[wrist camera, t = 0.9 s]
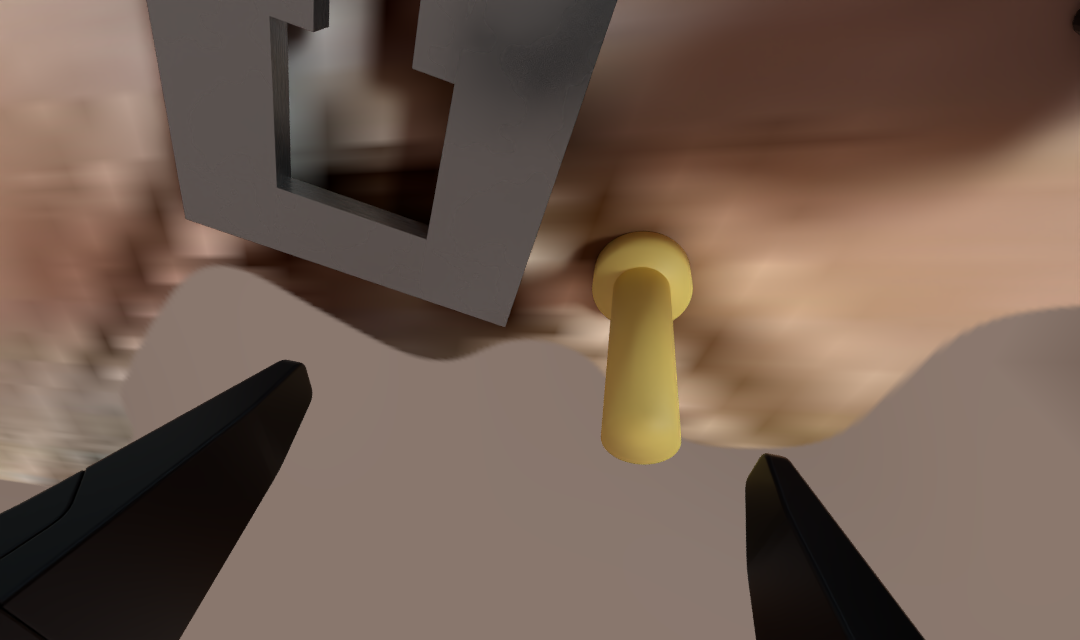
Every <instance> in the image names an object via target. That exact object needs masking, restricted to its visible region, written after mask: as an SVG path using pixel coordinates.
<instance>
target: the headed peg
mask: <svg viewBox="0 0 1080 640" xmlns="http://www.w3.org/2000/svg"><path fill="white" fill-rule="evenodd" d="M692 288H693V286H692V278H691V271H690V264H689V260H688V257H687V255H686V253H685V252H684V250H683V249H682V248H681V246H680V245H679V244H678V243H676V242H675V241H674V240H672V239H671V238H669V237H667V236H665V235H662V234H659V233H655V232H649V231H639V232H632V233H628V234H624V235H622V236H620V237H617V238H616V239H614V240H612V241H611V242H610V243H609V244H607V245H606V246H605V247H604V248H603V250H602V251H601V252H600V254H599V256H598V258H597V261H596V264H595V269H594V277H593V284H592V294H593V298H594V301H595V304H596V306H597V307H598V309H599V310H600V311H601V313H602V314H603V315H604V316H605V317H607V318H608V319H609V320H611V321H610V333H609V345H608V357H607V369H606V381H605V394H604V406H603V418H602V430H601V441H602V444H603V446H604V447H605V449H606V450H607V451H608V452H609V453H610V454H611V455H613V456H614V457H616V458H618V459H620V460H622V461H625V462H629V463H633V464H655V463H659V462H662V461H665V460H667V459H669V458H671V457H672V456H673V455H675V454H676V453H677V451H678V450H679V448H680V445H681V430H680V416H679V402H678V388H677V374H676V361H675V347H674V333H673V320H675V319H676V318H677V317H678V316H680V315H681V314H682V313H683V312H684V310H685V309H686V307H687V306H688V304H689V302H690V299H691V296H692Z"/></svg>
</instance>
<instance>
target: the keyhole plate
mask: <svg viewBox="0 0 1080 640" xmlns="http://www.w3.org/2000/svg"><path fill="white" fill-rule="evenodd" d="M616 2H617V0H421V2H420V10H419V18H418V26H417V34H416V42H415V50H414V58H413V66H412V69H415V70H418V71H421V72H423V73H426V74H429V75H431V76H434V77H437V78H440V79H442V80H445V81H448V82H450V83H453V84H455V85H454V90H453V96H452V101H451V107H450V112H449V118H448V124H447V129H446V135H445V140H444V146H443V151H442V157H441V163H440V168H439V174H438V179H437V185H436V190H435V196H434V202H433V207H432V213H431V218H430V224H429V225H426V224H423V223H420V222H418V221H415V220H412V219H409V218H406V217H403V216H400V215H397V214H395V213H392V212H389V211H386V210H383V209H380V208H377V207H374V206H372V205H369V204H366V203H363V202H360V201H357V200H354V199H352V198H349V197H346V196H343V195H340V194H337V193H334V192H331V191H329V190H326V189H323V188H320V187H317V186H314V185H311V184H308V183H306V182H303V181H300V180H297V179H294V178H291V164H290V121H289V78H288V36H287V23H290V24H293V25H295V26H298V27H301V28H304V29H306V30H309V31H312V32H315V31H318V30H321V29H324V28H327V27H329V0H147V6H148V11H149V17H150V22H151V28H152V34H153V39H154V45H155V50H156V56H157V62H158V67H159V73H160V78H161V84H162V90H163V95H164V101H165V106H166V112H167V117H168V123H169V129H170V134H171V140H172V145H173V151H174V157H175V162H176V168H177V173H178V179H179V185H180V190H181V196H182V201H183V207H184V213H185V218H186V219H187V220H190V221H193V222H196V223H199V224H202V225H205V226H208V227H211V228H214V229H217V230H220V231H223V232H226V233H229V234H232V235H235V236H237V237H240V238H243V239H246V240H249V241H252V242H255V243H258V244H261V245H264V246H267V247H270V248H273V249H276V250H279V251H282V252H285V253H288V254H291V255H294V256H296V257H299V258H302V259H305V260H308V261H311V262H314V263H317V264H320V265H323V266H326V267H329V268H332V269H335V270H338V271H341V272H344V273H347V274H350V275H353V276H355V277H358V278H361V279H364V280H367V281H370V282H373V283H376V284H379V285H382V286H385V287H388V288H391V289H394V290H397V291H400V292H403V293H406V294H409V295H412V296H415V297H417V298H420V299H423V300H426V301H429V302H432V303H435V304H438V305H441V306H444V307H447V308H450V309H453V310H456V311H459V312H462V313H465V314H468V315H471V316H474V317H476V318H479V319H482V320H485V321H488V322H491V323H494V324H497V325H500V326H503V327H505V326H506V323H507V320H508V317H509V314H510V311H511V308H512V305H513V302H514V299H515V297H516V294H517V291H518V288H519V285H520V282H521V279H522V276H523V273H524V270H525V267H526V264H527V262H528V259H529V256H530V253H531V250H532V247H533V244H534V241H535V238H536V235H537V232H538V229H539V227H540V224H541V221H542V218H543V215H544V212H545V209H546V206H547V203H548V200H549V197H550V194H551V192H552V189H553V186H554V183H555V180H556V177H557V174H558V171H559V168H560V165H561V162H562V160H563V157H564V154H565V151H566V148H567V145H568V142H569V139H570V136H571V133H572V130H573V127H574V125H575V122H576V119H577V116H578V113H579V110H580V107H581V104H582V101H583V98H584V95H585V92H586V90H587V87H588V84H589V81H590V78H591V75H592V72H593V69H594V66H595V63H596V60H597V57H598V55H599V52H600V49H601V46H602V43H603V40H604V37H605V34H606V31H607V28H608V25H609V22H610V20H611V17H612V14H613V11H614V8H615V5H616Z"/></svg>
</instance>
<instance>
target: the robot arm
mask: <svg viewBox="0 0 1080 640" xmlns="http://www.w3.org/2000/svg"><path fill="white" fill-rule="evenodd" d="M1072 25H1073V29H1074V31H1075V32H1077V33H1078V34H1080V9H1079V11H1078V12H1077V14H1076V15H1075V17H1074V20H1073V24H1072ZM311 399H312V388H311V384H310V381H309V377H308V374H307V370H306V367H305V365H304V364H302V363H300V362H295V361H290V360H282V361H279V362H277V363H275V364H273V365H271V366H270V367H268V368H266V369H264V370H262V371H260V372H259V373H257V374H255V375H253V376H252V377H250V378H248V379H246V380H244V381H242V382H241V383H239V384H237V385H235V386H233V387H232V388H230V389H228V390H226V391H224V392H223V393H221V394H219V395H217V396H215V397H214V398H212V399H210V400H208V401H206V402H204V403H203V404H201V405H199V406H197V407H196V408H194V409H192V410H190V411H188V412H186V413H185V414H183V415H181V416H179V417H177V418H176V419H174V420H172V421H170V422H168V423H167V424H165V425H163V426H162V427H160V428H158V429H156V430H154V431H152V432H151V433H148V434H147V435H145V436H143V437H141V438H140V439H138V440H136V441H134V442H132V443H130V444H129V445H127V446H125V447H123V448H121V449H120V450H118V451H116V452H114V453H112V454H111V455H109V456H107V457H105V458H103V459H102V460H100V461H98V462H96V463H94V464H92V465H91V466H89V467H87V468H86V470H85V471H80V472H78V473H76V474H74V475H72V476H71V477H69V478H67V479H65V480H63V481H61V482H60V483H58V484H56V485H54V486H52V487H50V488H49V489H47V490H45V491H43V492H41V493H39V494H37V495H35V496H34V497H32V498H30V499H28V500H26V501H24V502H22V503H20V504H19V505H17V506H14V507H13V508H11V509H9V510H7V511H4V512H2V513H1V514H0V640H179V639H180V637H181V636H182V634H183V632H184V630H185V629H186V627H187V626H188V624H189V622H190V621H191V619H192V617H193V615H194V614H195V612H196V610H197V609H198V607H199V605H200V604H201V602H202V600H203V599H204V597H205V595H206V593H207V592H208V590H209V589H210V587H211V585H212V583H213V582H214V580H215V578H216V577H217V575H218V573H219V572H220V570H221V568H222V567H223V565H224V563H225V561H226V560H227V558H228V556H229V555H230V553H231V551H232V550H233V548H234V546H235V545H236V543H237V541H238V540H239V538H240V536H241V534H242V533H243V531H244V529H245V528H246V526H247V524H248V523H249V521H250V519H251V518H252V516H253V514H254V513H255V511H256V509H257V507H258V506H259V504H260V502H261V501H262V499H263V497H264V496H265V494H266V492H267V491H268V489H269V487H270V485H271V484H272V482H273V480H274V479H275V476H276V475H277V473H278V472H279V470H280V468H281V466H282V464H283V462H284V459H285V457H286V455H287V453H288V451H289V449H290V446H291V444H292V442H293V440H294V438H295V435H296V433H297V431H298V429H299V427H300V424H301V422H302V420H303V418H304V415H305V413H306V411H307V409H308V407H309V404H310V402H311ZM745 503H746V557H747V573H748V581H749V590H750V596H751V605H752V612H753V620H754V627H755V635H756V640H925V639H924V638H923V636H922V635H921V633H920V632H919V631H918V630H917V628H916V627H915V625H914V624H913V623H912V622H911V621H910V619H909V618H908V616H907V615H906V614H905V612H904V611H903V610H902V609H901V607H900V606H899V604H898V603H897V602H896V600H895V599H894V598H893V597H892V595H891V594H890V593H889V591H888V590H887V588H886V587H885V586H884V585H883V583H882V582H881V581H880V579H879V578H878V577H877V575H876V574H875V573H874V571H873V570H872V569H871V567H870V566H869V565H868V563H867V562H866V561H865V559H864V558H863V557H862V556H861V554H860V553H859V551H858V550H857V549H856V548H855V546H854V545H853V544H852V542H851V541H850V540H849V538H848V537H847V536H846V534H845V533H844V532H843V530H842V529H841V528H840V526H839V525H838V524H837V522H836V521H835V520H834V519H833V517H832V516H831V514H830V513H829V512H828V511H827V509H826V508H825V507H824V505H823V504H822V503H821V501H820V500H819V499H818V497H817V496H816V495H815V493H814V492H813V491H812V489H811V488H810V487H809V485H808V484H807V483H806V481H805V480H804V479H803V478H802V476H801V475H800V474H799V472H798V471H797V470H796V468H795V467H794V466H793V464H792V463H791V462H790V461H789V460H788V459H787V458H786V457H783V456H779V455H773V454H768V453H765V454H763V455H762V456H761V457H760V458H759V460H758V462H757V463H756V465H755V466H754V468H753V470H752V471H751V473H750V474H749V476H748V478H747V481H746V487H745Z"/></svg>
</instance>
